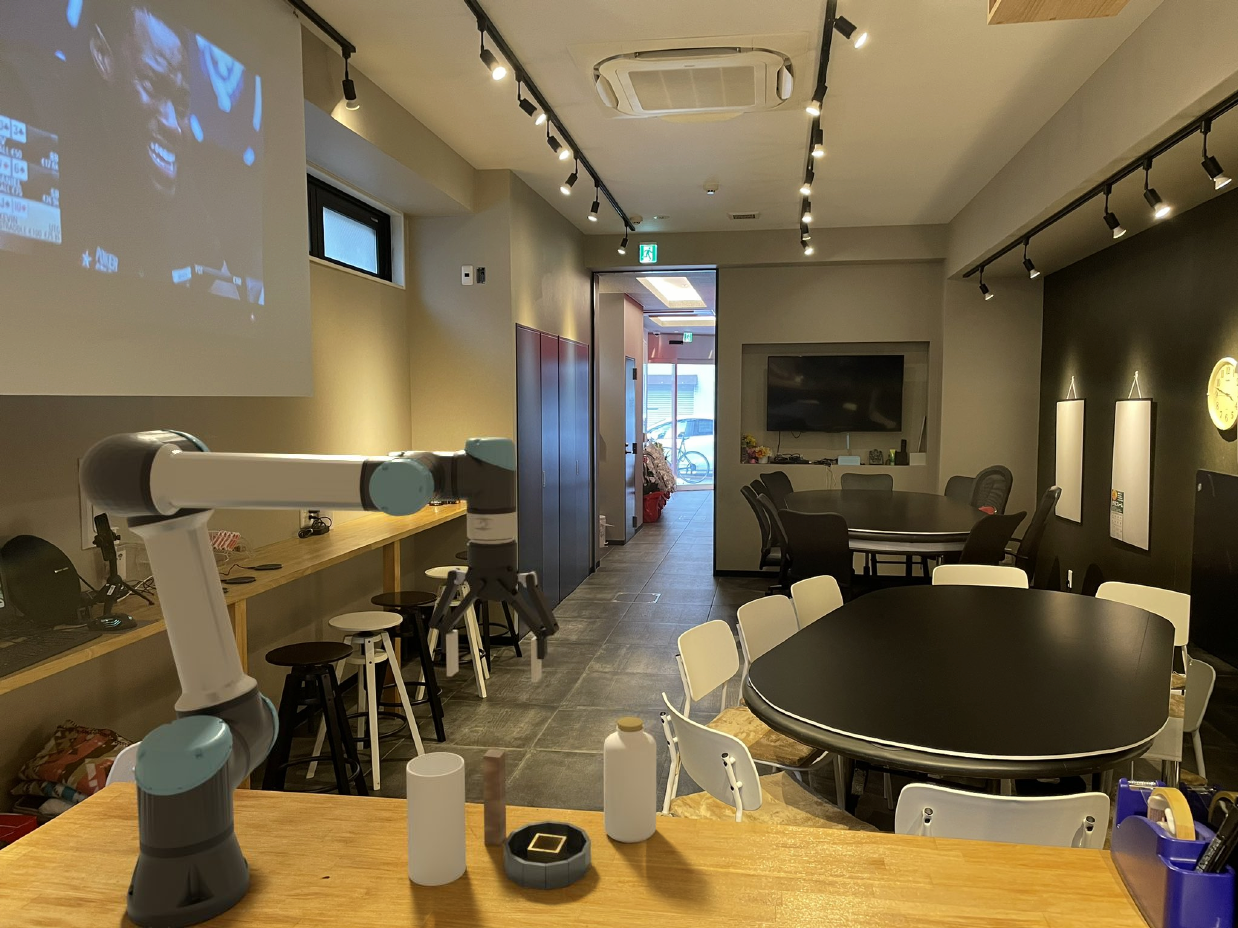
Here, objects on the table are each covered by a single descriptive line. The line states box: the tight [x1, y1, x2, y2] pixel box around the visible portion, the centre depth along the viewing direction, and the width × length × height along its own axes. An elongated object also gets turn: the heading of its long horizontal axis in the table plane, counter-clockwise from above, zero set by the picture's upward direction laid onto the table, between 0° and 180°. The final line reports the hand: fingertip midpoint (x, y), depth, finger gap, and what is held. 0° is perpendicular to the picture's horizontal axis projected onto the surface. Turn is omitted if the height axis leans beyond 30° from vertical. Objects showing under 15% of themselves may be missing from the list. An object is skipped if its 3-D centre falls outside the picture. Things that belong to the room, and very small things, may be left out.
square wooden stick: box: [482, 748, 507, 847], centre depth 131 cm, size 3×3×14 cm
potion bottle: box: [603, 716, 657, 844], centre depth 134 cm, size 8×8×18 cm
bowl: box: [503, 820, 592, 891], centre depth 125 cm, size 12×12×4 cm
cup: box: [406, 751, 467, 887], centre depth 123 cm, size 8×8×16 cm
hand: (494, 676), depth 130 cm, fingers open, 13 cm apart
